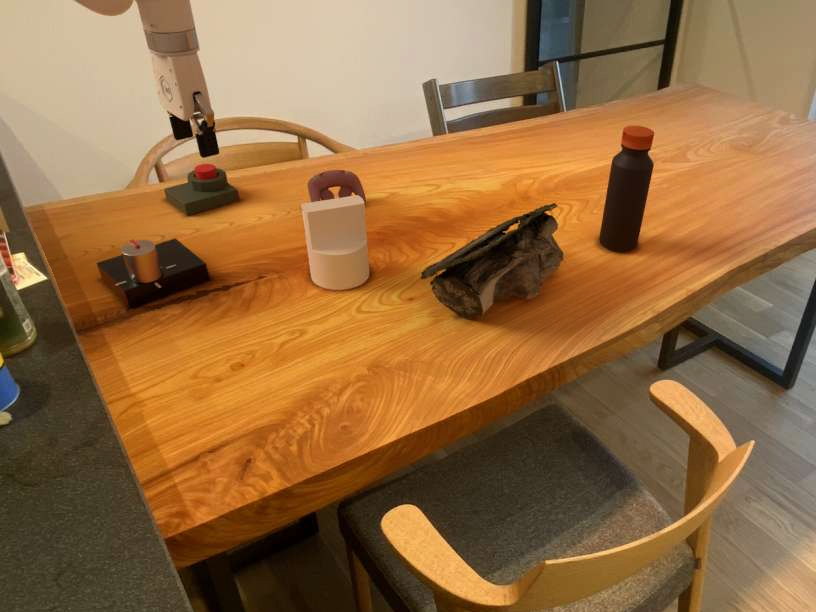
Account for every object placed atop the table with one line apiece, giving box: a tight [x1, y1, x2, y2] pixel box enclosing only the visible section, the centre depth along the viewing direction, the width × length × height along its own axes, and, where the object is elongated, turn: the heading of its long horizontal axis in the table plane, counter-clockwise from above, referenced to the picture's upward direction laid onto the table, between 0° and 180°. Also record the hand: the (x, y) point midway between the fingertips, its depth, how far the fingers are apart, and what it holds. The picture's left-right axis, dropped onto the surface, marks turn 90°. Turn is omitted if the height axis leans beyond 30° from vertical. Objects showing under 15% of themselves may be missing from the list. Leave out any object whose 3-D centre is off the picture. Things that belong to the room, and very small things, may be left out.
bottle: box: [598, 125, 655, 253], centre depth 115 cm, size 7×7×20 cm
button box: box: [163, 167, 240, 216], centre depth 125 cm, size 10×8×4 cm
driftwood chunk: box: [420, 202, 564, 320], centre depth 103 cm, size 28×13×15 cm
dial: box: [120, 239, 163, 283], centre depth 98 cm, size 4×4×5 cm
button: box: [193, 163, 217, 180], centre depth 125 cm, size 4×4×2 cm
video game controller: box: [307, 169, 367, 205], centre depth 126 cm, size 10×5×7 cm, turn 116°
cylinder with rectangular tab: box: [301, 194, 370, 291], centre depth 105 cm, size 9×9×12 cm
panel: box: [95, 238, 211, 309], centre depth 103 cm, size 12×12×3 cm
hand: (196, 146), depth 119 cm, fingers open, 9 cm apart
